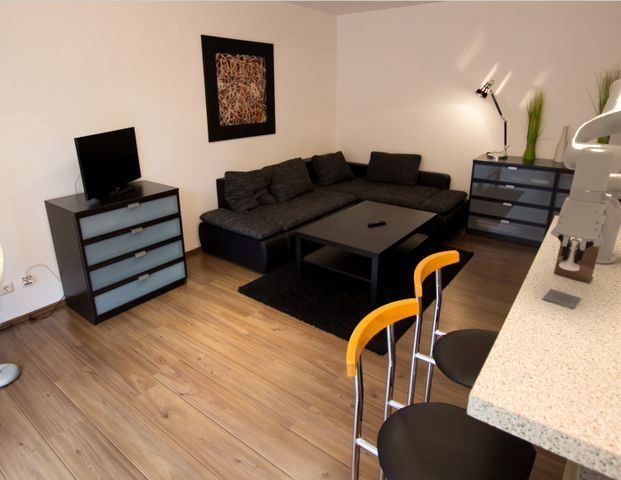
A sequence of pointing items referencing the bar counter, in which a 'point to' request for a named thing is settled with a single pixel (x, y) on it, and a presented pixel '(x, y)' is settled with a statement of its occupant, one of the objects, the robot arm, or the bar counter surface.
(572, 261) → the chess piece
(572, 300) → the pad
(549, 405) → the bar counter surface
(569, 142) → the robot arm
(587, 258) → the brown piece
